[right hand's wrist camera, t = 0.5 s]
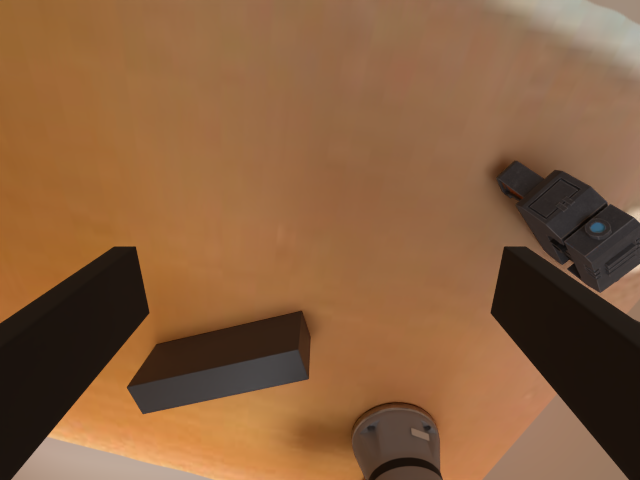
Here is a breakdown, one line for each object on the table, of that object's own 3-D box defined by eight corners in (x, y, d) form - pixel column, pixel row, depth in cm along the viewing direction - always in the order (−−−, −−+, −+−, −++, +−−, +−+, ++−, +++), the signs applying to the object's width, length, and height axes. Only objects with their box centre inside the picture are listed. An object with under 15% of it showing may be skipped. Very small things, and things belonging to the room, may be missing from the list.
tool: (518, 141, 41) (649, 213, 30) (550, 209, 54) (650, 276, 43) (478, 179, 42) (589, 260, 32) (518, 237, 55) (606, 307, 45)
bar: (301, 310, 53) (298, 349, 44) (310, 337, 54) (308, 379, 46) (156, 344, 55) (126, 387, 47) (169, 368, 57) (142, 414, 48)
